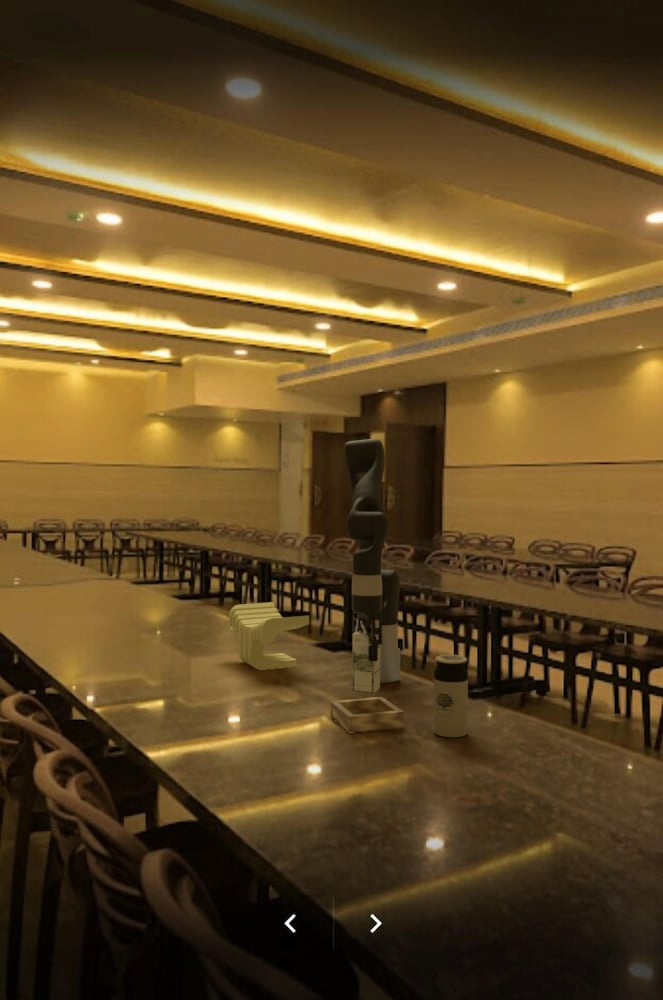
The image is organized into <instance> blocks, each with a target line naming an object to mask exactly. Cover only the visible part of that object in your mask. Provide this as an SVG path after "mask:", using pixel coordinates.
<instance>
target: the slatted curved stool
mask: <svg viewBox="0 0 663 1000" xmlns="http://www.w3.org/2000/svg"><path fill="white" fill-rule="evenodd" d="M307 625H310V615H298V616H285V617H283V616H282V615H281V613H279V611H278V609H277V607H276V606H275V604H274V602H273V601H269V602H255V603H254V602H253V603H244V604H243V603H242V604H239V603H238V604H236V605H234V606H233V607H231V608H230V610H229V613H228V628H233V629H234V630H235V633H236V634H237V635H236V636H237V644H238V645H237V646H238V657H239V659H240V660H241V661H242V662H244V663H246V664H247V665H249V666H251V667H252V668H254V669H257V670H259V671H268V670H267V669H269V670H276V668H278V669H285V667H287V668H293V667H292V666H296V667H299V665H298V660H297V659H296V658H293V657H291V656H290V655H287V654H286V653H283V652H282V653H281V652H280V653H264V648H265V645H266V644H272V643H273V644H275V643H276V639H277V637H278V635H279V634H280V633H281V632H285V631H290V630H298V629H299V628H300V629H301V628H302V627H305V626H307Z"/></svg>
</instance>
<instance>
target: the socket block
mask: <svg viewBox="0 0 663 1000" xmlns="http://www.w3.org/2000/svg"><path fill="white" fill-rule="evenodd" d="M331 717H332V718H333V719H334V720H333V719H332V718H331ZM330 718H331V719H332V720H333V721H335V720H336V721H337V722H338V723H339V724H340V725H342V726H343V727H344V728H345V729H346V730H348V731H349V732H362V733H367V732H366V731H371V732H378V731H379V732H380V730H381V731H387V730H398V729H404V728H405V711H404V710H402V709H400V707H398V706H396V705H395V704H393V703H392V702H390V701H389V700H387V699H385V698H384V697H383V696H374V697H365V698H355V699H354V698H352V699H344V700H342V699H340V700H333V701H332V700H331V701H330ZM336 721H335V722H336ZM337 722H336V723H337ZM338 723H337V724H338ZM339 724H338V725H339ZM340 725H339V726H340ZM343 727H342V728H343ZM344 728H343V729H344ZM345 729H344V730H345ZM346 730H345V731H346Z"/></svg>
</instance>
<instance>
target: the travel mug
mask: <svg viewBox="0 0 663 1000" xmlns="http://www.w3.org/2000/svg"><path fill="white" fill-rule="evenodd" d="M434 659H435V661H436V666H435V669H434V671H433V733H434V734H435V735H437V736H440V737H443V738H449V739H450V738H451V739H453V738H454V739H457V738H463V737H464V736H466V735H467V734H468V717H469V716H468V714H469V713H468V709H469V707H468V704H469V702H468V699H469V696H468V695H469V694H468V693H469V692H468V691H469V689H468V688H469V686H468V685H469V684H468V683H469V673H468V670H467V668H466V663H467V661H468V659H467V657H466V656H463V655H457V654H441V655H437V656H435V658H434Z"/></svg>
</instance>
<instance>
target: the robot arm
mask: <svg viewBox="0 0 663 1000" xmlns="http://www.w3.org/2000/svg"><path fill="white" fill-rule="evenodd" d="M343 455H344V457H343V458H344V463H345V468H346V473H347V479H348V482H349V487H350V492H351V494H350V495H351V501H352V508H351V510H350V511H349V513H348V516H347V518H346V521H345V532H346V535H347V537H349V538H350V539H351V540H353V541H357V544H358V550H356V551H354V553H353V555H352V579H351V610H352V628H351V630H352V632H351V634H352V635H353V633H355V632H356V631H359V630H361V632H363V633H364V637H365V638H367V641H368V645H369V646H368V660H369V661H370V662H373V661H377V660H378V646H379V645H380V684H389V683H394V682H397V681H401V648H400V647H399V643H398V640H399V634H398V633H399V632H398V631H399V629H398V627H399V602H400V601H399V599H400V597H399V596H400V585H401V583H400V574H399V573H398V572H397V570H393V569H382V555H383V549H384V545H385V541H386V538H387V535H388V531H389V525H390V522H389V519H388V516H387V515H386V510H385V508H384V506H383V505H382V504H381V503H382V502H381V488H382V482H383V476H384V471H385V465H386V456H385V455H386V454H385V448H384V445H383V442H382V441H381V440H380V439H378V438H369V439H361V440H360V439H359V440H351V441H347V442H346V443H345V445H344V448H343ZM360 474H364V475H363V476H361V475H360ZM383 601H385V605H384V606H383ZM370 637H371V638H370Z"/></svg>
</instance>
